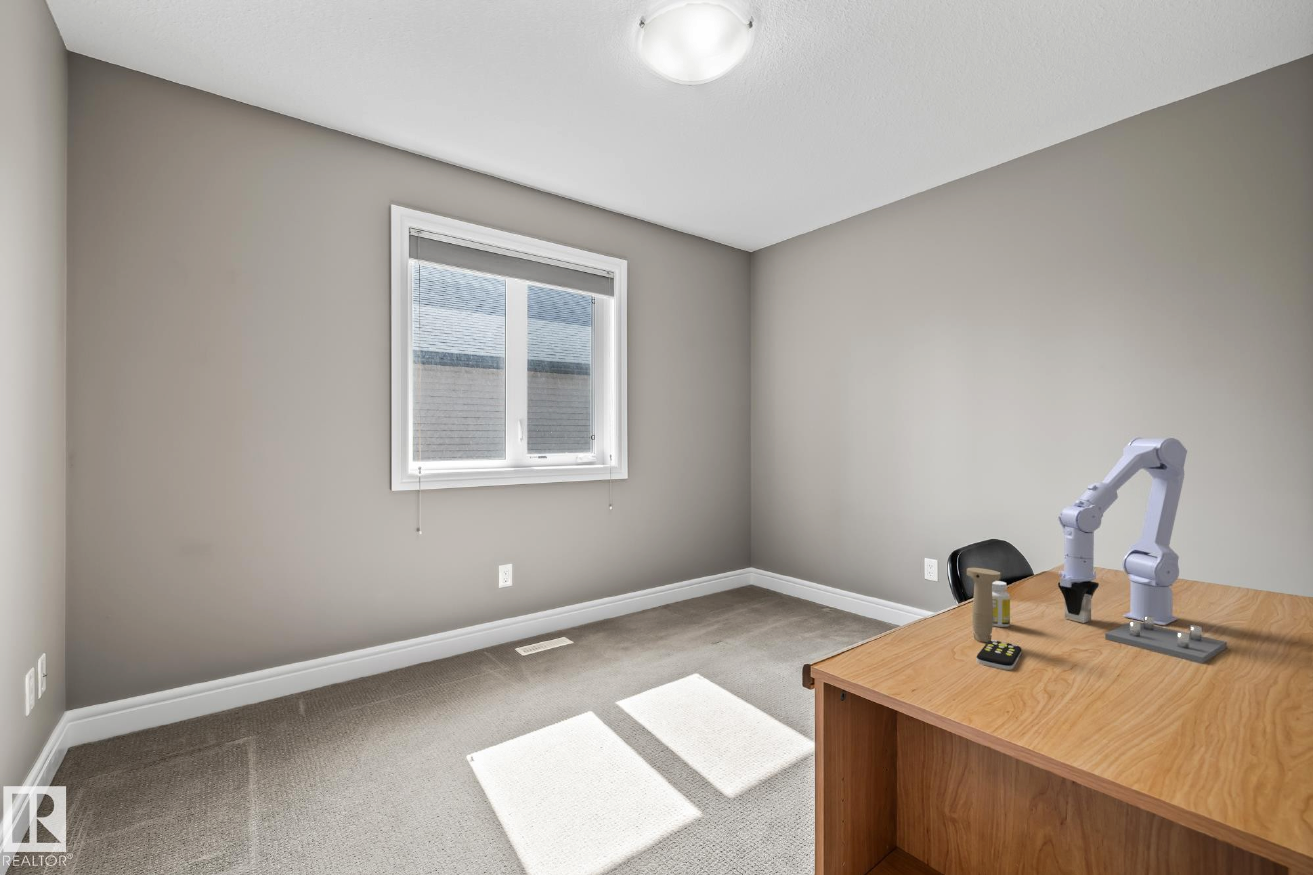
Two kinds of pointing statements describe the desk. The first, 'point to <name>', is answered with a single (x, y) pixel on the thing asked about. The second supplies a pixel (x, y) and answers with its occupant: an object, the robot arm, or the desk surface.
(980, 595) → the handle
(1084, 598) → the cream block
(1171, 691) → the desk surface
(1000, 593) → the supplement bottle
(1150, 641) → the peg board
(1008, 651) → the remote control
